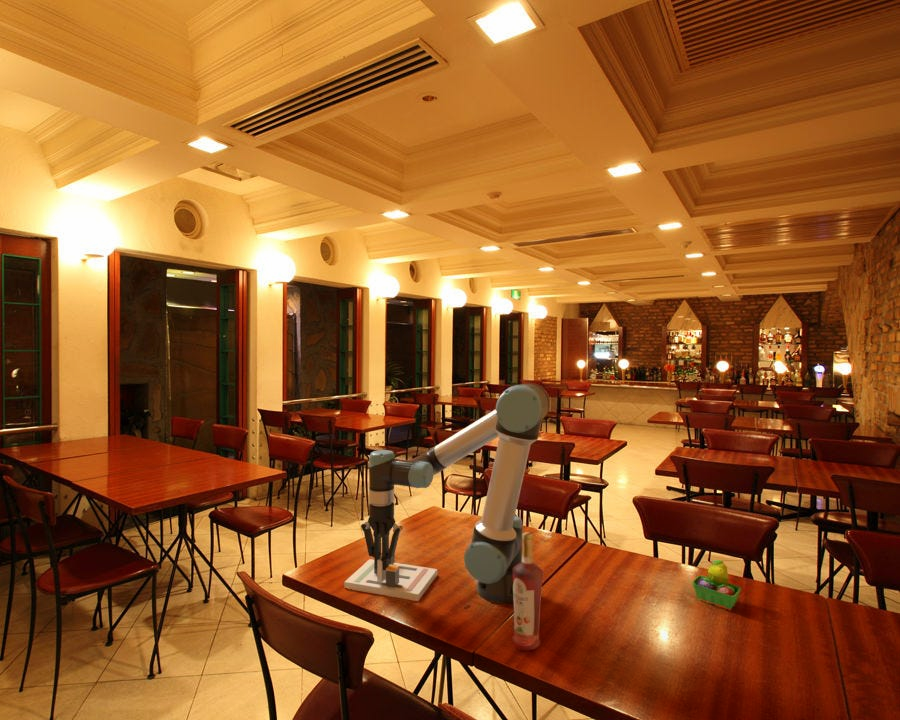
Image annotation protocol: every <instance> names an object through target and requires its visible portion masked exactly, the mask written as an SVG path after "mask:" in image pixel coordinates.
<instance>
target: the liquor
mask: <svg viewBox="0 0 900 720" xmlns="http://www.w3.org/2000/svg"><path fill="white" fill-rule="evenodd" d="M533 545H534V533H533V532H530V531H524V532H523V531H522V562H521V563H519V564H517V565H516V566H514V567H513V569H512V570H513V600H514V603H513V622H514V623H513V624H514V625H513V629H514V630H513V631H514V632H513V633H514V635H513V636H512V638H511V639H512V643H513V644H514V645H515V646H516V647H517V648H518V649H519V648H520V649H519V650H521V649H522V650H521V651H523V650H525V651H524V652H531V651H530V650H532V651H534V650H535V649H537V648H538V647H540V645H541V639H540V638H539V637H540V613H541V599H542V589H543V586H542V585H543V570H542V568H540V567H539V566H538V565H537V564H535V563H534V551H533Z"/></svg>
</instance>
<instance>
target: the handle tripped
mask: <svg viewBox="0 0 900 720" xmlns="http://www.w3.org/2000/svg"><path fill="white" fill-rule="evenodd" d="M398 583H399V566H398V565H391V564H390V565H389V566H388V567H387V568H386V586H392V587H396V585H397V584H398Z"/></svg>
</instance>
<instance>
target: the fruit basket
mask: <svg viewBox="0 0 900 720" xmlns="http://www.w3.org/2000/svg"><path fill="white" fill-rule="evenodd" d="M707 573H708V574H707V575H708V576H705V575H699V576H697V577H696V578H695V579H694V580H693V581H691V583H692V587H693V589H694V594H695V596H696V599H697V598H699V599H703V600H705V601H708V602H712V603H715V604H718V605H721V606H724V607H726V608H730V609H731V608H732V607H733V606H734V607H735V605H736V604H737V600H738V598H739V595H740V593H741V590H742V588H741V587H740V586H737V585H735V584H732V583H730V582H728V580H729V572H728V566H727V565H726V564H725V563H724V561H723V560H719V559H716V560H714V562H713V563H711V566H710V567H709V568H708V570H707ZM735 603H736V604H735ZM734 604H735V605H734ZM734 607H733V608H734ZM733 608H732V609H733ZM732 609H731V610H732Z"/></svg>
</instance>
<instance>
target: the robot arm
mask: <svg viewBox="0 0 900 720" xmlns="http://www.w3.org/2000/svg"><path fill="white" fill-rule="evenodd" d="M550 408H551V399H550V396H549V393H548V392H547V391H546V390H545V388H543V387H542V386H541V385H539V384H537V383H534V382H525V383H520V384H516V385H512V386H510V387H508V388H507V389H505V390H504V391H503V392H502V393H501V394H500V396H499V397H498V399H497V401H496V404H495V408H494V409H493V410H492V411H490V412H489V413H486V414H485V415H484V416H482V417H480V418H479V419H477V420H475V421H474V422H472V423H471V424H469V425H468V426H466V427H465V428H463V429H461V430H460V431H458V432H455V434H453V435H451V436H450V437H447V438H446V439H445V440H444V441H441V442H440V443H439V444H436V445H435V446H433V447H431V448H430V449H428V450H427V451H425V452H423V453H422V454H420V455H418V456H416V457H413V458H412V459H399V458H395V457H396V456H395V453H394V451H392V450H390V449H389V450H388V449H379V450H374V451H372V452H370V454H369V462H368V472H369V473H368V475H369V476H368V477H369V479H368V481H369V482H368V484H369V485H368V488H369V489H368V502H369V504H368V515H369V516H368V518H367V520H366V521H365V522H363V523H361V525H360V528H361V530H362V531H363V534H364V541H365V543H366V548H367V553H368V556H369V557H372V558H373V559H375V569H377V582H382V581H383V580H384V579H385V578H386V568H387V567H388V559H391V558H392V557H393V556H394V554H395V555H396V550H397V547H398V546H397V544H398V541H399V538H400V537H399V536H400V533H401V531H403V526H402V525H398V524H397V523H396V520H395V503H394V501H395V486H401V487H407V488H408V487H410V488H415V489H426V488H429V487H430V485H431V484H432V482H433V480H434V476H435V475H437V474H440V473H441V472H442V471H444V470H446V469H447V468H449V466H452V465H453V464H455V463H457V462H459V461H460V460H461V459H463V458H465V457H467V456H468V455H471V454H472V453H474V452H475V451H477V450H478V449H481V448H482V447H483V446H486V445H487V444H489V443H490V442H492V441H495V440H496V439H498V442H497V446H496V451H495V457H494V460H493V466H492V470H491V476H490V479H489V483H488V490H487V493H486V497H485V503H484V507H483V512H482V516H481V519H479V520H477V521H476V522H475V524H474V526H473V527H474V528H473V532H472V537H471V541H470V544H469V545H468V546H467V547H466V549H465V552H464V554H463V562H464V566H465V569H466V570H467V572H468V573H469V575H470V576H471V577H472V578H473V579H475V580H477V582H476V583H477V584H476V586H477V587H476V590H477V593H478V595H479V596H480V597H481V598H483V599H485V600H486V601H489V602H492V603H496V604H514V600H513V570H512V569H513V567H514V566H516V565H517V564H519V563H521V562H522V553H523V541H522V533H523V530H524V527H523V520H522V518H521V517H519V516H518V515H516V512H517V507H518V503H519V499H520V494H521V489H522V485H523V481H524V476H525V472H526V467H527V461H528V458H529V453H530V450H531V445H532V444H533V443H535V442H536V441H538V439H539V435H540V431H541V426H542V422H543V419H544V418H546V416H547V415H548V413H549V410H550ZM372 531H373V532H372ZM390 531H392V536H391V540H390ZM380 556H381V557H380Z"/></svg>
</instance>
